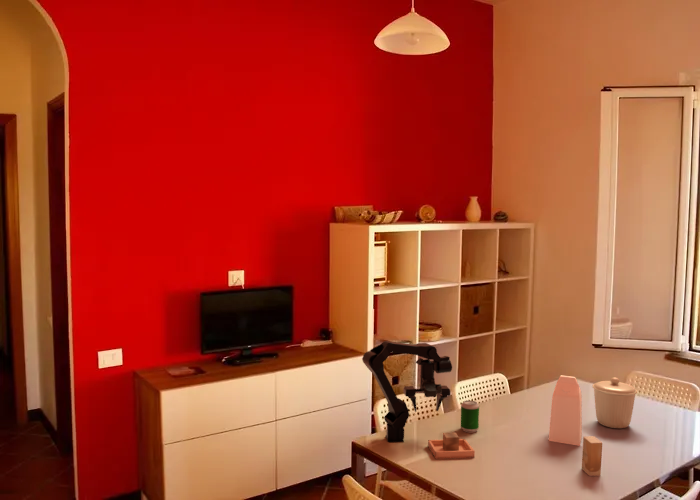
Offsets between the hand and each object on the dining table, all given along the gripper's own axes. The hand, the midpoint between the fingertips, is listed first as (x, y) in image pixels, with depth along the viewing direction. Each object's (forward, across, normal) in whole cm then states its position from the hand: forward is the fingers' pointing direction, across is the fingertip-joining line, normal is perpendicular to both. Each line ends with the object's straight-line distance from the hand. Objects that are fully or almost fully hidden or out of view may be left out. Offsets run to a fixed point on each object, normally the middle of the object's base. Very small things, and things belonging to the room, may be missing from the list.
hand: (426, 411), depth 247 cm
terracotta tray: (+10, +6, -18) cm, 21 cm away
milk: (+10, +57, -8) cm, 58 cm away
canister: (+10, +86, +6) cm, 87 cm away
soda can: (+10, +20, +4) cm, 23 cm away
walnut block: (+9, +6, -18) cm, 21 cm away
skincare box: (+10, +51, -40) cm, 66 cm away
